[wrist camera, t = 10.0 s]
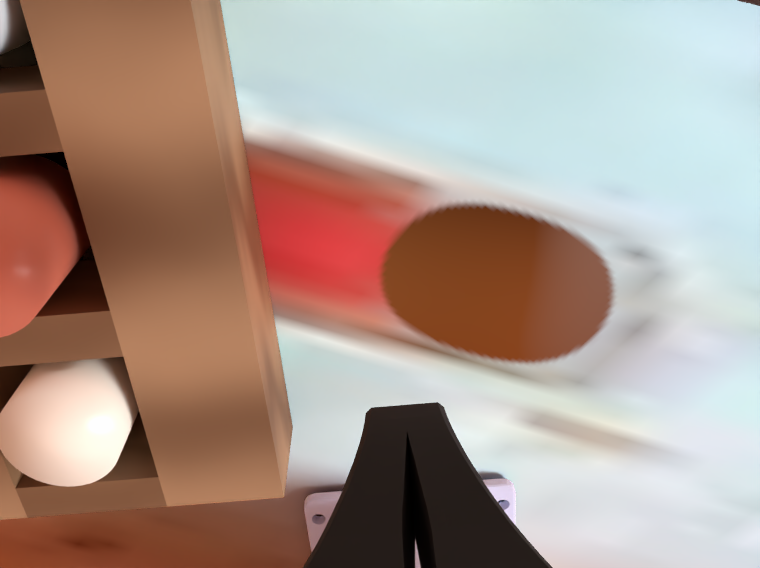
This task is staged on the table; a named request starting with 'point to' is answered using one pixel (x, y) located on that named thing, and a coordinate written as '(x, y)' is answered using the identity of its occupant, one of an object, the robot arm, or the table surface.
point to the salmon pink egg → (35, 236)
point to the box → (751, 1)
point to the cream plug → (69, 420)
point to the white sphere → (12, 26)
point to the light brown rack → (151, 254)
